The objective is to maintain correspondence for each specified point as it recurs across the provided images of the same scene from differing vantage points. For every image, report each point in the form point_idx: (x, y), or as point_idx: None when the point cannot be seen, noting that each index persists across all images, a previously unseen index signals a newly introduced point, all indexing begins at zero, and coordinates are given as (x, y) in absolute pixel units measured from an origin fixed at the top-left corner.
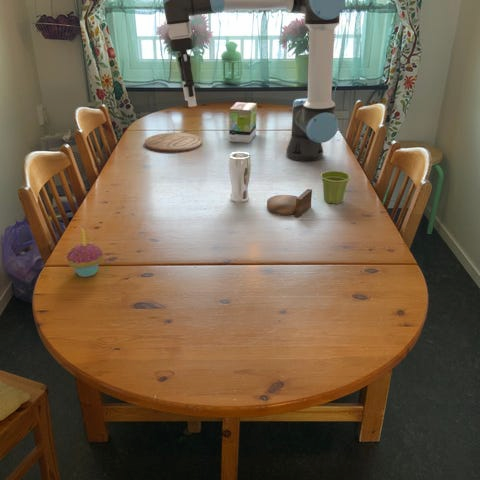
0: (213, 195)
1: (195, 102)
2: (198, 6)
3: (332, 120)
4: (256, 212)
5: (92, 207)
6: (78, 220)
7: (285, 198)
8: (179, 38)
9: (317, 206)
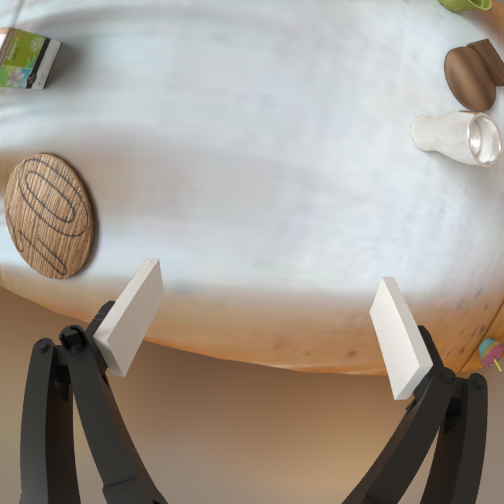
0: (396, 177)
1: (398, 293)
2: None
3: None
4: None
5: (361, 365)
6: None
7: (463, 69)
8: None
9: (466, 33)
